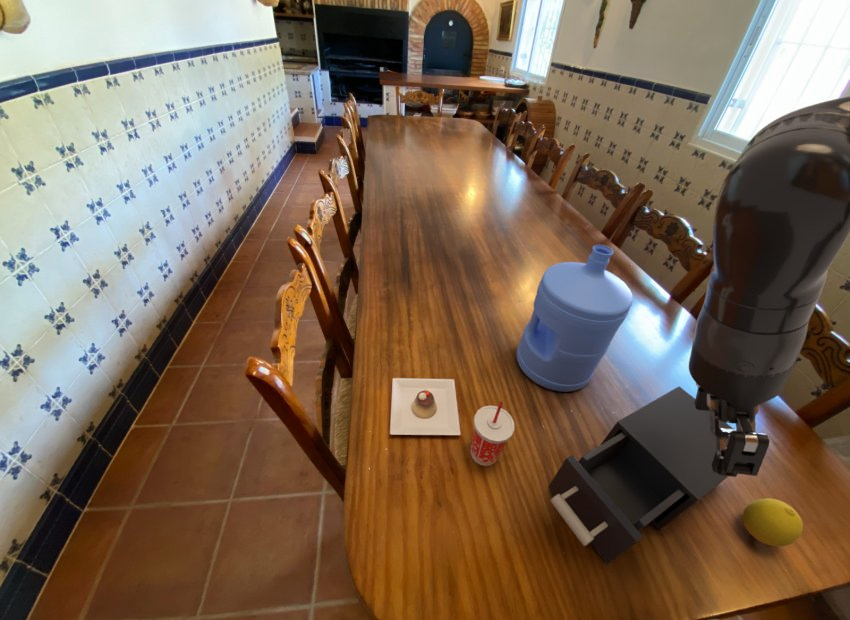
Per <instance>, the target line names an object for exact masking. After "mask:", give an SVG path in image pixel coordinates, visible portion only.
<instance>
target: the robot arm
mask: <svg viewBox="0 0 850 620" xmlns="http://www.w3.org/2000/svg"><path fill="white" fill-rule="evenodd" d="M718 193H719V194H718V198H717V202H716V206H715V210H714V218H713V229H712V257H713V264H712V266H711V269H710V273H709V276H708V277H709V278H708V282H707V285H706V290H705V291H706V292H705V297H704V301H703V305H702V307H701V309H700V312H699V314H698V317H697V320H696V324H695V329H694V336H693V340H692V344H691V350H690V355H689V360H688V372H689V374H690V377H691V378H692V380H693V381H694V382H695V385H696V387H697V390H696V395H695V407H696V409H697V410H705V411H710V430H711V432H712V434H713V435H714V436H715V437H716V443H717V450H716V453H715V456H714V459H713V462H712V469H713V472H715V473H719V475H724V476H728V477H731V478H732V477H733V478H736V477H737V476H738V475H746V476H752V477H754V476H755V477H757V476H758V474H759V472H760V469H761V466H762V464H763V461H764V459H765V456H766V454H767V452H768V448H769V446H770V438H769V436H768V435H767V433H762V432H756V431H757V430H756V416H757V415H758V413H759V406H760V405H762V404H763V403H766V402H768V401H771V400H773V399H775V398H776V397H778V396H779V395H780V394H781V393H782V392H783V391H784V388H785V386H786V384H787V381H788V380H789V378H790V375H791V373H792V370H793V369H794V366H795V364H796V362H797V360H798V358H799V355H800V353H801V350H802V348H803V346H804V344H805V341H806V338H807V334H808V331H809V330H808V329H809V323H810V321H811V317H812V315H813V313H814V311H815V308H816V306H817V304H818V302H819V300H820V297H821V295H822V292H823V290H824V287H825V284H826V282H827V276H828V272H829V268H830V267H831V266H832V264H833V262H834V261H835V260H836V257H837V256H838V254H839V253H840V251H841V249H842V248H843V246H844V244H845V243H846V241H847V239H848V237H849V235H850V95H849V96H844V97H840V98H839V97H838V98H834V99H830V100H825V101H822V102H818V103H814V104H811V105H808V106H805V107H802V108H799V109H795V110H793V111H790V112H788V113H785V114H784V115H781V116H779V117H778V118H776V119H774V120H772V121H771V122H769V123H768V124H767V125H765V126H764V127H762V128H761V129H759V131H757V132H756V134H754V135H753V136H752V138H751V139H750V140H749V141H748V143H747V144H746V146H744V148H743V150H742V152H741V153H740V155H739V156H738V158H737V159H736V161H735V162H734V163H733V165H732V166H731V168H730V170H729V171H728V173H727V174H726V176H725V178H724V179H723V182H722V185H721V187H720V190H719V192H718ZM720 421H721V422H725V423H727V424H734V425H735V428H733V429H726V428H720ZM727 439H729V441H728V444H727V448H726V445H725V441H726V440H727Z"/></svg>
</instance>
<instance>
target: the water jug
mask: <svg viewBox="0 0 850 620" xmlns="http://www.w3.org/2000/svg"><path fill="white" fill-rule="evenodd" d="M613 254H614V250H613V249H612V248H611V247H609V246H606V245H603V244H595V245H593V246H592V251H591V253H590V254H589V255H588V258H587V261H586V263H584V262H577V261H564V262H559V263H555V264H552V265H550V266H549V267H548V268H547V269H545V271H544V272H543V274H542V277H541V279H540V281H539V284H538V286H537V289H536V294H535V298H534V301H533V311H532V314H531V317H530V320H529V322H528V323H527V324H526V325H525V327H524V330H523V333H522V336H521V339H520V340H519V343H518V345H517V348H516V360H517V363H518V366H519V368H520V369H521V371H522V372H523V373H524V374H525V376H527V377H528V378H529V379H530V380H531V381H532V382H533V383H535V384H537V385H539V386H541V387H543V388H545V389H547V390H550V391H555V392H563V393H567V392H569V393H570V392H574V391H578V390H581V389H582V388H584V387H585V386H587V385H588V384H589V383H590V382H591V379H592V378H593V376H594V373H595V371H596V369H597V367H598V365H599V363H600V362H601V360H602V359H603V357H604V356H605V355H606V353H607V351H608V349H609V348H610V345H611V343H612V341H613V339H614V337H615V335H616V334H617V332H618V330H619V329H620V327H621V325H622V324H623V323H624V322H625V320H626V319H627V317H628V315H629V312H630V309H631V307H632V306H633V302H634V298H633V293H632V291H631V288H629V286H628V285H627V284H626V282H624V281H623V280H622V279H621V278H619V277H618V276H617V275H616V274H614V273H612V272H610V271H608V270H606V268H607V266H608V265H609V263H610V258H611V257H612V256H613Z"/></svg>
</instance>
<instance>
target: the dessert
mask: <svg viewBox="0 0 850 620" xmlns="http://www.w3.org/2000/svg"><path fill="white" fill-rule="evenodd" d="M389 423H390V425H389V435H391V436H392V435H398V436H399V435H401V436H403V435H408V436H409V435H411V436H461V434H462V433H461V426H460V416H459V409H458V401H457V392H456V383H455V379H454V378H414V377H413V378H412V377H411V378H410V377H409V378H408V377H393V378H392V383H391V403H390V422H389Z"/></svg>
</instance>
